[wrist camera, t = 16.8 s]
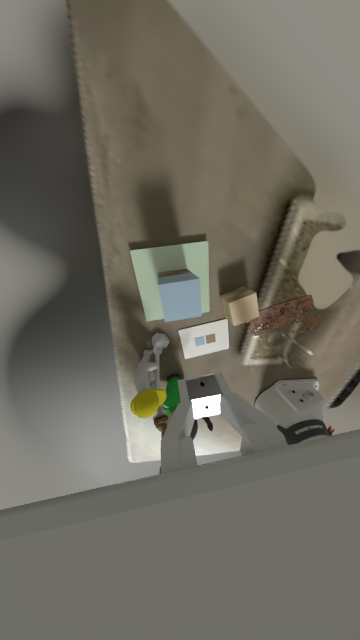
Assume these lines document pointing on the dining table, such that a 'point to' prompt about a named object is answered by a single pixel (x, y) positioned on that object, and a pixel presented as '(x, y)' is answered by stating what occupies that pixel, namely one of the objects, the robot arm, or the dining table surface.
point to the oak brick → (240, 305)
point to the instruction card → (204, 338)
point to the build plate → (169, 260)
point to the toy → (173, 401)
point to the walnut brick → (173, 272)
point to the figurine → (148, 393)
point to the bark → (285, 316)
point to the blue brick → (180, 296)
